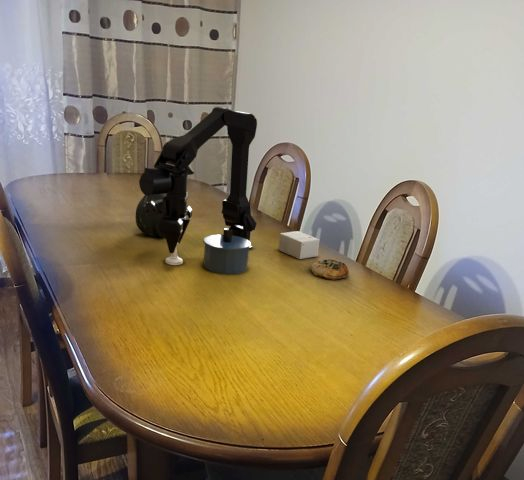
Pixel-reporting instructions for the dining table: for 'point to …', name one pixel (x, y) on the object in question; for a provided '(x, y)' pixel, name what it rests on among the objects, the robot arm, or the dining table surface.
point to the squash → (149, 223)
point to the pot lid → (227, 241)
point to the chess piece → (174, 259)
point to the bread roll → (330, 269)
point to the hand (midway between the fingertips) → (174, 248)
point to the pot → (225, 260)
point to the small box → (298, 244)
